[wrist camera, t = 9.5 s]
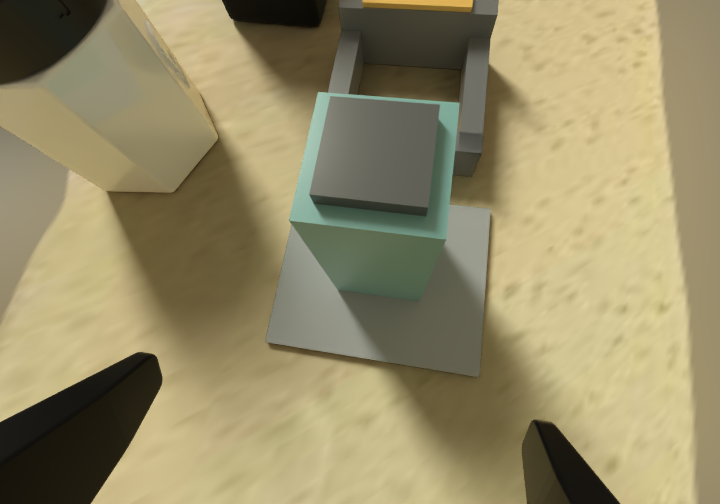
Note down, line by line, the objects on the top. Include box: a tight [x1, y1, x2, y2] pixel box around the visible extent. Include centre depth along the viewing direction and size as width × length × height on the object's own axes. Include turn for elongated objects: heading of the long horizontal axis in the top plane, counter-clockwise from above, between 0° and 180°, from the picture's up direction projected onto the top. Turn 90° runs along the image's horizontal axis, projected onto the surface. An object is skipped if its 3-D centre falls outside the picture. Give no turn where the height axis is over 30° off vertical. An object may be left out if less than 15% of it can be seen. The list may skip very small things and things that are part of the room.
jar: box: [0, 0, 218, 193], centre depth 19 cm, size 9×8×12 cm
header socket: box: [328, 0, 498, 177], centre depth 22 cm, size 9×9×4 cm
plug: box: [289, 92, 460, 302], centre depth 15 cm, size 4×4×11 cm
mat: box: [265, 204, 491, 377], centre depth 20 cm, size 9×11×1 cm
